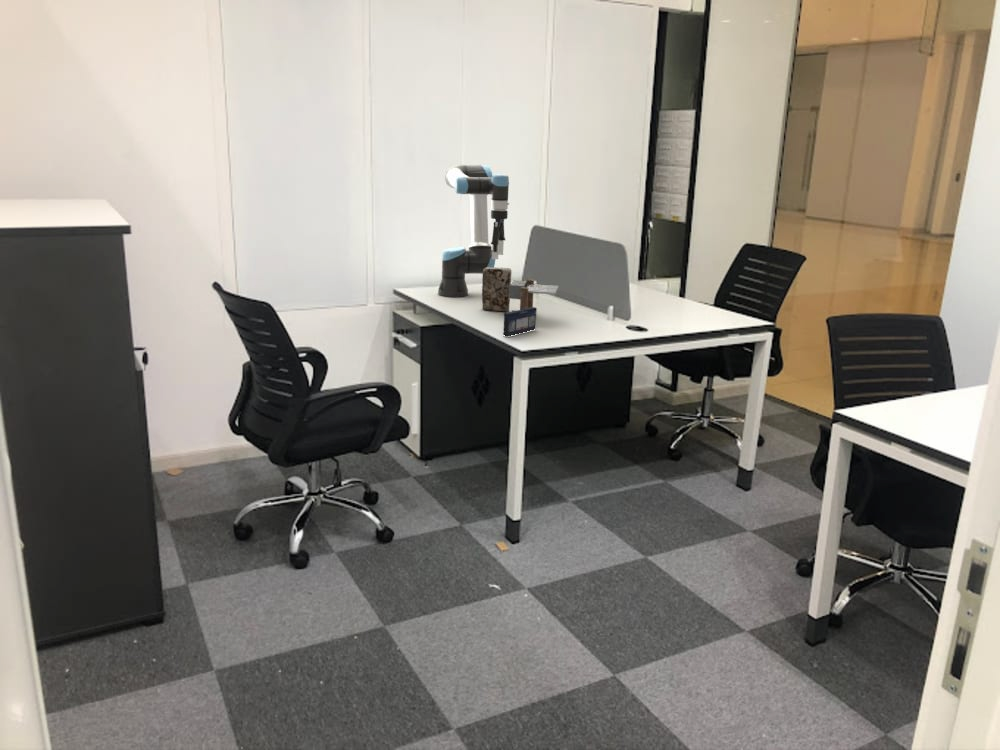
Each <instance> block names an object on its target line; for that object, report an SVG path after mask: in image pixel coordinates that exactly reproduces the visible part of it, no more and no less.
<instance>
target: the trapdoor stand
mask: <svg viewBox="0 0 1000 750" xmlns="http://www.w3.org/2000/svg"><path fill="white" fill-rule="evenodd" d="M526 281H527V287H528V286H529V284H535V279H528V278H527V280H526ZM519 300H520V301H519V302H520V303H519V310H521V309H526V308H531V307H534V305H533V304H534V293H528V288H526V287H521V297H520V299H519ZM513 311H517V309H516V310H511V312H513Z"/></svg>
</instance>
